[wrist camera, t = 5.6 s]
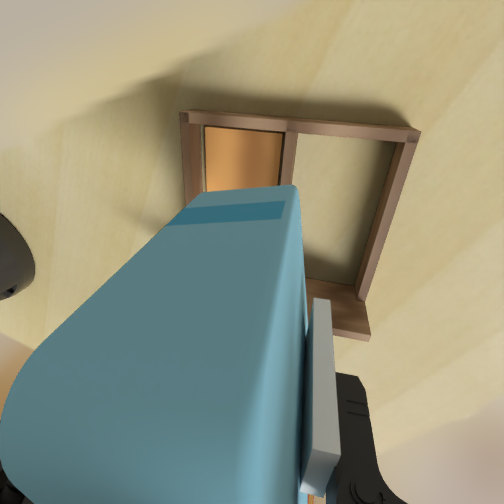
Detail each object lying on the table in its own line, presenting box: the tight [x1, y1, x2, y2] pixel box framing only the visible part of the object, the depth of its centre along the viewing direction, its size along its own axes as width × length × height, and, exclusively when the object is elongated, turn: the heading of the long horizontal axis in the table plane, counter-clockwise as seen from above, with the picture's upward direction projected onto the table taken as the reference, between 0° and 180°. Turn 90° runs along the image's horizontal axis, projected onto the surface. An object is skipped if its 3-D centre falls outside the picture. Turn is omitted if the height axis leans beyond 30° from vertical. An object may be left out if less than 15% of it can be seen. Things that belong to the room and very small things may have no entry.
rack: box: [179, 109, 421, 342], centre depth 25 cm, size 18×17×7 cm
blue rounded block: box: [0, 185, 308, 504], centre depth 12 cm, size 12×4×12 cm, turn 9°
